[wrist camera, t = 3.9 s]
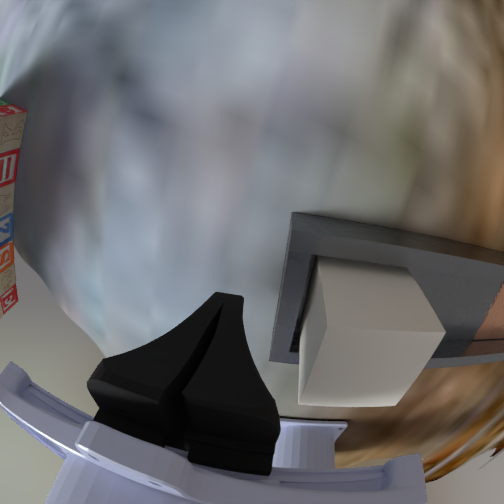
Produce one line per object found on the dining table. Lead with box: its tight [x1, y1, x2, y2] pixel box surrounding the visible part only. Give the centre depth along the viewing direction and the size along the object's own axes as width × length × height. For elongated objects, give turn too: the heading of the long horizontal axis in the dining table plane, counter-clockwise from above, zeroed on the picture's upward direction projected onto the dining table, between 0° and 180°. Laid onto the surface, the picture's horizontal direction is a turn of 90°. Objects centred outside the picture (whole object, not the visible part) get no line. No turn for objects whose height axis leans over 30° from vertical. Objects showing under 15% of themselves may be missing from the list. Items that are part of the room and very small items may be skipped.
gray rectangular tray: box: [269, 212, 504, 369], centre depth 13 cm, size 8×24×2 cm, turn 86°
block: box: [298, 255, 446, 407], centre depth 12 cm, size 5×5×6 cm
